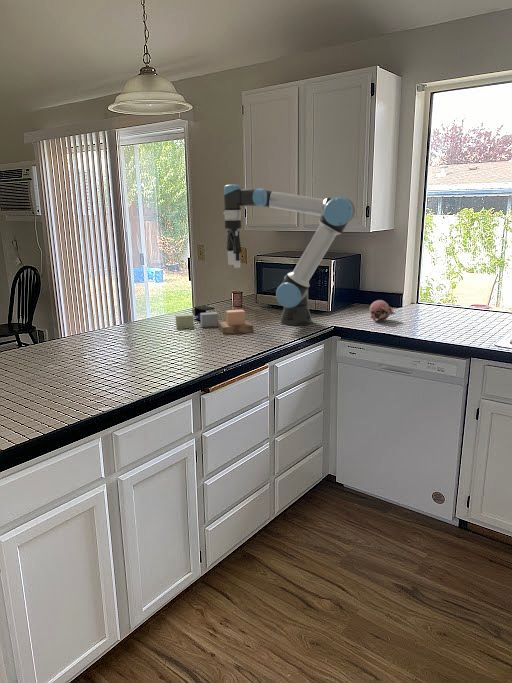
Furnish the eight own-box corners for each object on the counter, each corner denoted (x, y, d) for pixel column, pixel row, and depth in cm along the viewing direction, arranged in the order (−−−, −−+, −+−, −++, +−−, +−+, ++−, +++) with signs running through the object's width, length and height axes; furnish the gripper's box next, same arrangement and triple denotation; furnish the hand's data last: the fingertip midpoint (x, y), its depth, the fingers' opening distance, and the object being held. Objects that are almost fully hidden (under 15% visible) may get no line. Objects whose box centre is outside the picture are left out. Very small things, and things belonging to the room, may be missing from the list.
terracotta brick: (242, 321, 246) (242, 309, 245) (245, 324, 242) (244, 311, 240) (226, 323, 245) (225, 310, 243) (228, 325, 240) (227, 312, 238)
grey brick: (216, 323, 258) (216, 311, 256) (218, 326, 253) (218, 313, 252) (200, 324, 256) (200, 312, 255) (202, 327, 251) (201, 314, 250)
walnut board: (247, 326, 251) (247, 320, 250) (253, 331, 240) (252, 325, 239) (218, 328, 248) (218, 322, 247) (223, 333, 237) (222, 327, 236)
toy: (398, 322, 247) (396, 314, 261) (392, 301, 244) (390, 294, 258) (373, 329, 250) (372, 321, 264) (367, 308, 248) (366, 301, 262)
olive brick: (192, 325, 255) (191, 313, 254) (193, 327, 251) (193, 315, 249) (176, 326, 253) (175, 314, 252) (177, 328, 249) (176, 316, 247)
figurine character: (191, 321, 271) (204, 323, 258) (190, 306, 270) (203, 307, 257) (203, 319, 275) (216, 321, 262) (202, 305, 274) (215, 306, 261)
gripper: (219, 219, 251) (221, 264, 256) (230, 220, 227) (232, 269, 233) (234, 219, 252) (236, 263, 258) (247, 220, 229) (248, 268, 234)
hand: (234, 266), depth 245 cm, fingers open, 13 cm apart
